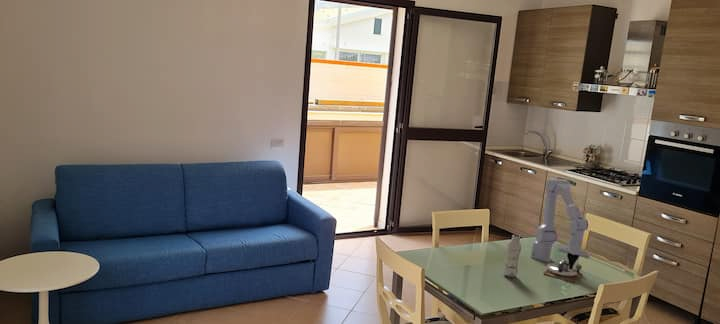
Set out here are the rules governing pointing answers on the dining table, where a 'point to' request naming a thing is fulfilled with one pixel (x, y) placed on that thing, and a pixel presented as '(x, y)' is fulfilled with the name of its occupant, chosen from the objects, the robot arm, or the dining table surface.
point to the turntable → (561, 270)
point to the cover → (564, 264)
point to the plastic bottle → (512, 257)
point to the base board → (570, 279)
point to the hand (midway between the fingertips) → (570, 268)
